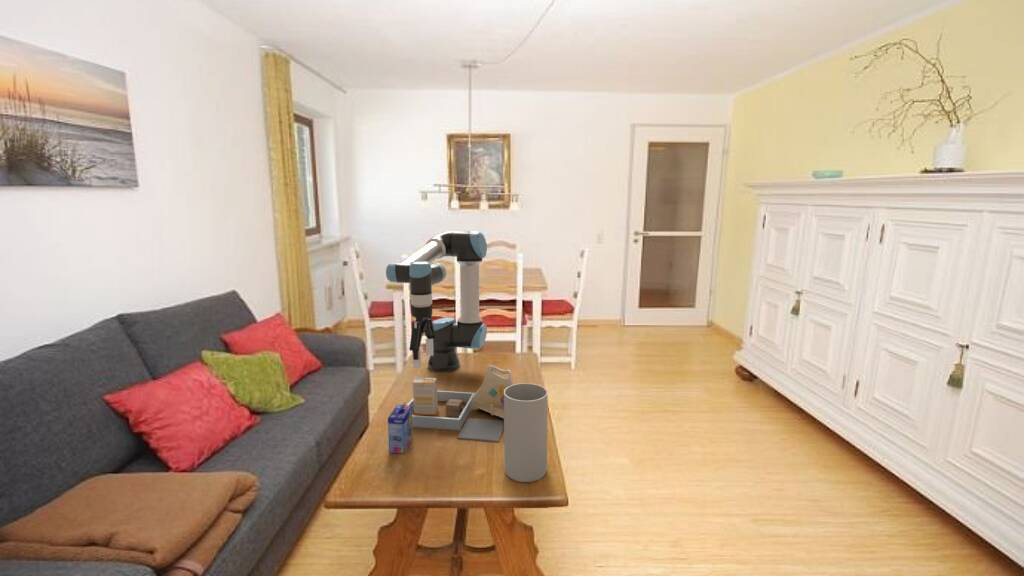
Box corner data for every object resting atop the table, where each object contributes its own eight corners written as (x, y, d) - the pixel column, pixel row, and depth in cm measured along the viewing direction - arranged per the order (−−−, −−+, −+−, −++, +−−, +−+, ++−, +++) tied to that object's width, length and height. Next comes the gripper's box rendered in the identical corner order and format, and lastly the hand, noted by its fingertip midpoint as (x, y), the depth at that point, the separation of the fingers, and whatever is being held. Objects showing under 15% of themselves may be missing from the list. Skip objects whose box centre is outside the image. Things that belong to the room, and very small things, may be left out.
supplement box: (438, 410, 177) (437, 377, 174) (435, 415, 172) (433, 382, 169) (417, 409, 177) (415, 377, 175) (413, 415, 173) (412, 382, 170)
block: (449, 411, 176) (449, 399, 175) (462, 412, 175) (462, 399, 174) (445, 417, 171) (445, 404, 170) (459, 418, 170) (458, 405, 169)
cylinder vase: (533, 488, 129) (534, 405, 124) (496, 474, 135) (495, 394, 130) (553, 467, 139) (555, 388, 134) (518, 455, 146) (518, 380, 141)
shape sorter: (529, 417, 170) (529, 370, 167) (509, 426, 162) (509, 378, 160) (491, 402, 183) (491, 359, 181) (471, 410, 176) (471, 365, 173)
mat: (468, 419, 169) (467, 418, 169) (505, 422, 167) (505, 420, 167) (457, 438, 156) (457, 437, 156) (498, 442, 153) (498, 440, 153)
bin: (420, 398, 187) (420, 389, 186) (475, 402, 183) (475, 392, 182) (398, 425, 165) (397, 415, 164) (460, 430, 161) (459, 419, 160)
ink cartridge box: (405, 454, 146) (403, 411, 144) (388, 453, 147) (385, 411, 144) (413, 438, 156) (411, 398, 153) (397, 437, 156) (395, 397, 154)
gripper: (423, 297, 179) (425, 350, 183) (397, 312, 155) (400, 372, 159) (442, 298, 178) (443, 351, 182) (419, 313, 154) (421, 374, 158)
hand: (423, 361), depth 171 cm, fingers open, 13 cm apart
